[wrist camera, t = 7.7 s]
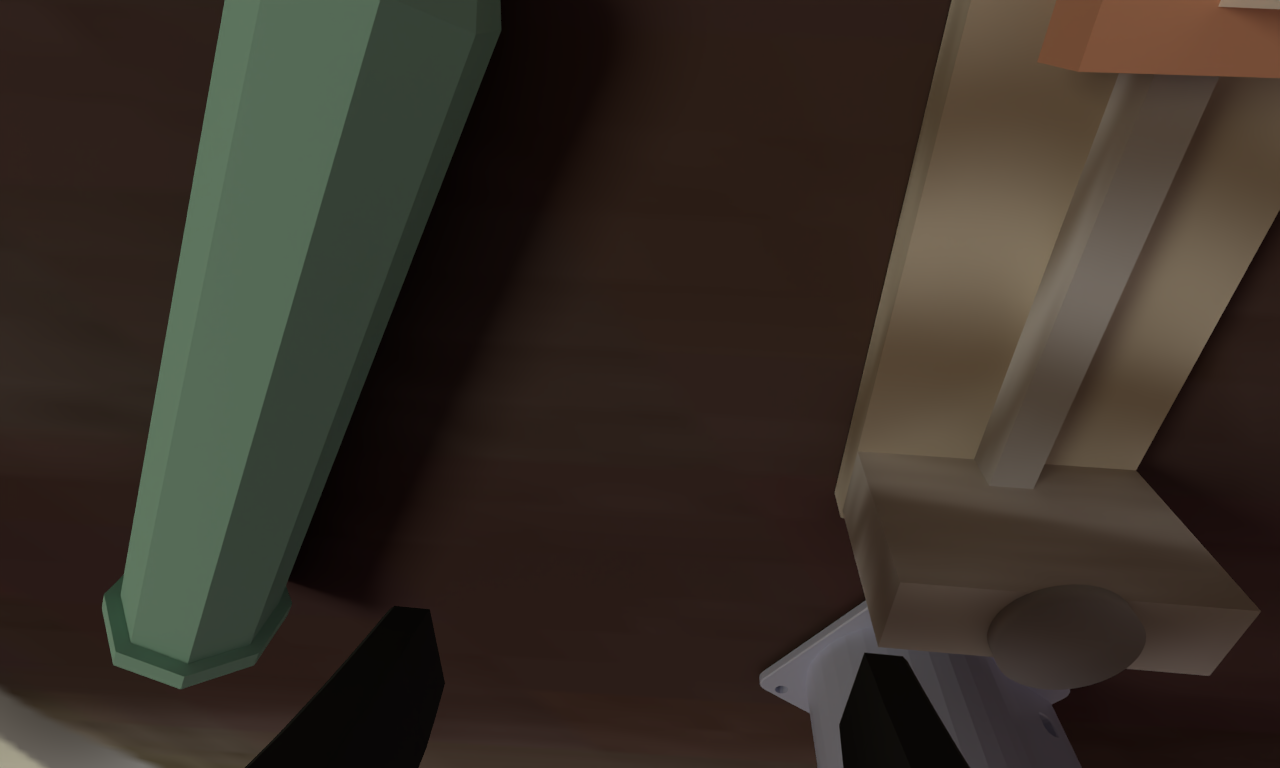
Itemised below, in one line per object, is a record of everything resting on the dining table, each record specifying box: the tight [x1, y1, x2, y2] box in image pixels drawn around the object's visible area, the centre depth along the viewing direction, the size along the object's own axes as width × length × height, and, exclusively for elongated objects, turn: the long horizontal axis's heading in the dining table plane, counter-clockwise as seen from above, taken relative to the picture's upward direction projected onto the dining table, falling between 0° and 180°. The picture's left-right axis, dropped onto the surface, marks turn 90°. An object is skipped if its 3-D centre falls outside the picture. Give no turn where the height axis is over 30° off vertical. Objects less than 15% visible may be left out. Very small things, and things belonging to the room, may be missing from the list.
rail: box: [835, 0, 1280, 690], centre depth 13 cm, size 23×8×7 cm, turn 179°
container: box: [102, 0, 501, 689], centre depth 18 cm, size 6×6×25 cm
